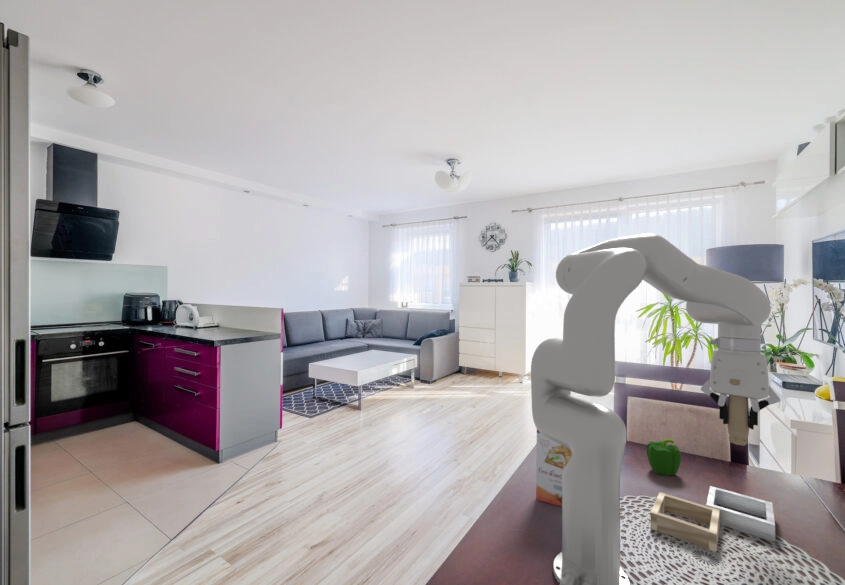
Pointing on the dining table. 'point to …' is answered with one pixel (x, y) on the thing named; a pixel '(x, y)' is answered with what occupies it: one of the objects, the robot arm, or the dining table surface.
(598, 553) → the robot arm
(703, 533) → the frame
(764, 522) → the socket block
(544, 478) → the cracker box
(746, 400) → the handle
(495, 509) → the dining table surface
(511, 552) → the dining table surface
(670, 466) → the bell pepper
